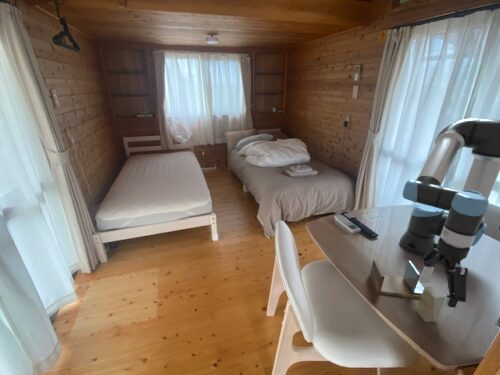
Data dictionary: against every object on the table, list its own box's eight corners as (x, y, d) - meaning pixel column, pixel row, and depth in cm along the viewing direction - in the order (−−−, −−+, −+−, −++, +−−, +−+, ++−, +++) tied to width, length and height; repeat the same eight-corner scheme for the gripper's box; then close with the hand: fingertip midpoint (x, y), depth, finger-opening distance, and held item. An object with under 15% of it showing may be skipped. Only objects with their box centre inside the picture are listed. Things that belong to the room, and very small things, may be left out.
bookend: (418, 280, 99) (424, 262, 96) (428, 295, 92) (435, 276, 89) (402, 278, 100) (408, 260, 97) (411, 292, 93) (417, 274, 89)
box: (415, 310, 87) (423, 286, 83) (426, 309, 87) (435, 285, 83) (426, 322, 82) (435, 298, 78) (437, 322, 82) (448, 297, 78)
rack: (409, 280, 101) (415, 264, 98) (421, 299, 92) (427, 282, 89) (369, 275, 103) (373, 259, 100) (376, 292, 94) (381, 276, 91)
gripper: (421, 221, 86) (406, 269, 93) (468, 266, 63) (442, 325, 70) (444, 223, 85) (427, 272, 92) (501, 270, 62) (471, 330, 69)
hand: (433, 295), depth 81 cm, fingers open, 13 cm apart
